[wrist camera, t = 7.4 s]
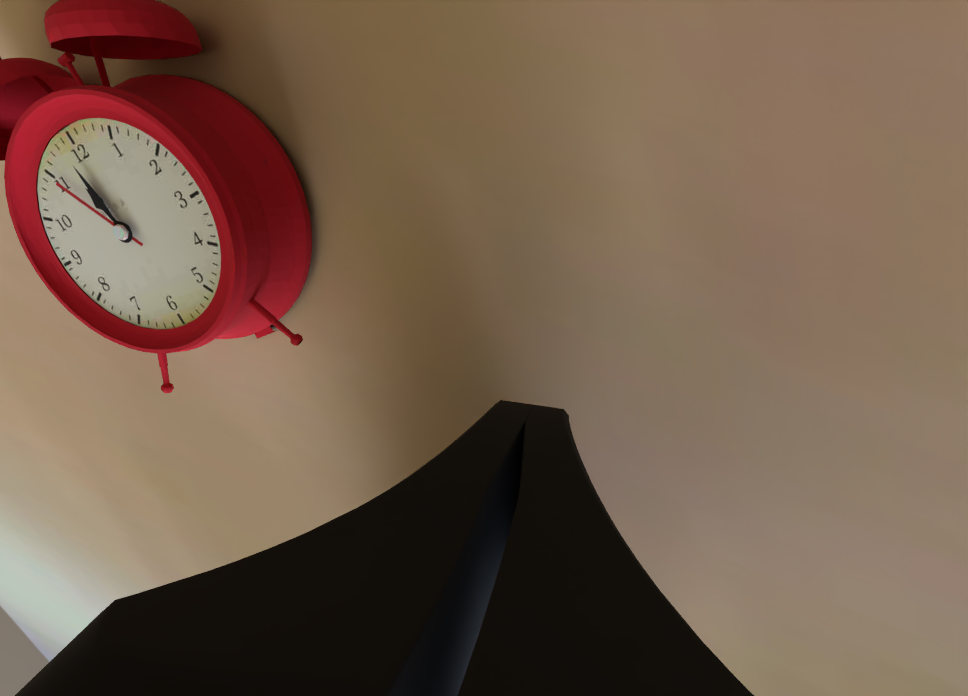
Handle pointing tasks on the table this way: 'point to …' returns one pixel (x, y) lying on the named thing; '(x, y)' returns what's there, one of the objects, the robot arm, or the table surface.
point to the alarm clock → (149, 188)
